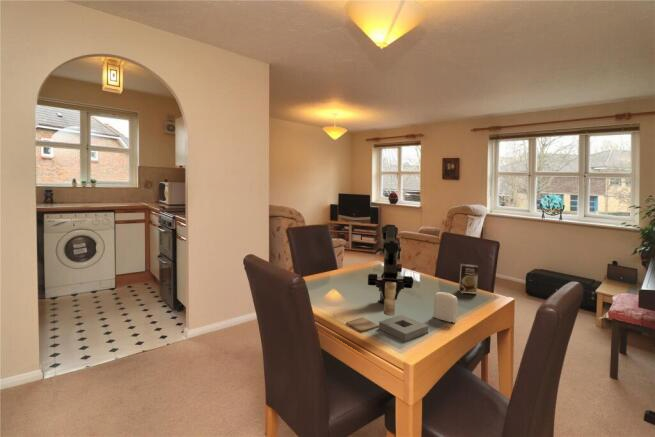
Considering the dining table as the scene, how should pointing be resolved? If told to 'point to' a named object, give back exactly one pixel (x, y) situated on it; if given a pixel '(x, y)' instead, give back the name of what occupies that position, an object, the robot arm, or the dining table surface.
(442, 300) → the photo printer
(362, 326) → the mat
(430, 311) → the dining table surface
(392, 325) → the holder
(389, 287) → the dowel
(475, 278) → the coffee box
